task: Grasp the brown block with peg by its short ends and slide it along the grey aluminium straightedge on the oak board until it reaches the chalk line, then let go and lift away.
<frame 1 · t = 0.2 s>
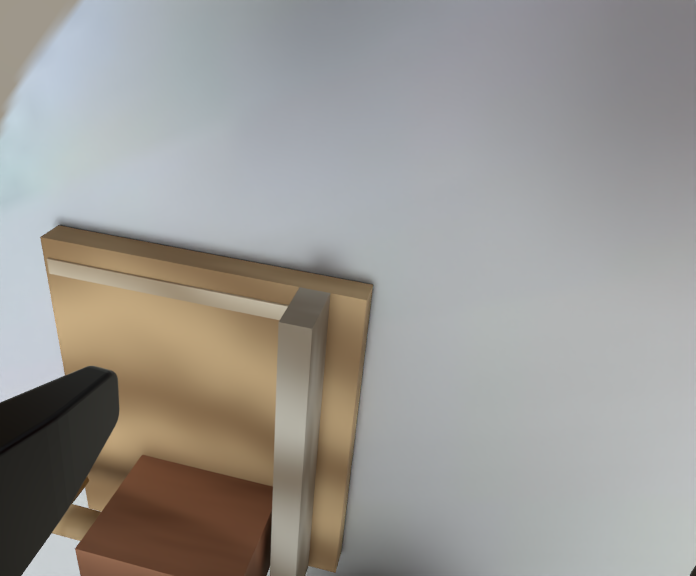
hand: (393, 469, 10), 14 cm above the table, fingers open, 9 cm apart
brown block with peg: (211, 500, 31), point 1 cm above the table, touching board
board: (214, 405, 30), on the table
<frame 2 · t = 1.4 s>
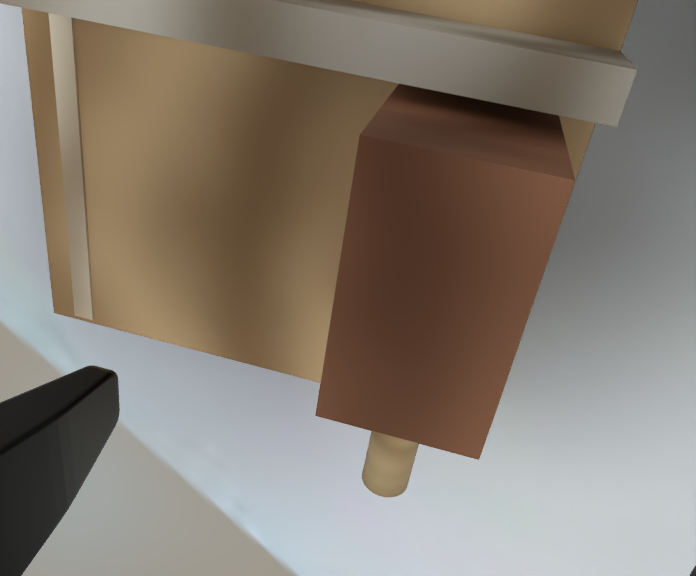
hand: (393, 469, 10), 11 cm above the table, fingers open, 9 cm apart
brown block with peg: (448, 217, 18), point 1 cm above the table, touching board
board: (292, 174, 20), on the table
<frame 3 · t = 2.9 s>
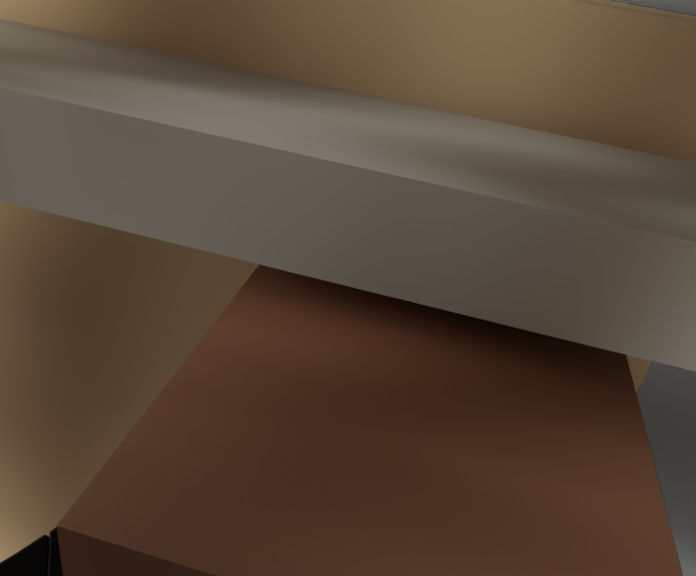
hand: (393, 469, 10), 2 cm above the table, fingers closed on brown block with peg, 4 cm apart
brown block with peg: (401, 433, 10), point 1 cm above the table, touching board, gripper
board: (147, 329, 12), on the table
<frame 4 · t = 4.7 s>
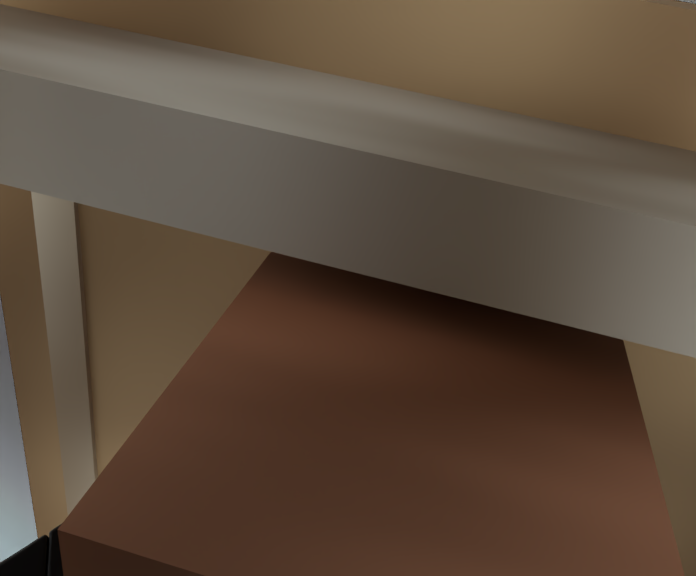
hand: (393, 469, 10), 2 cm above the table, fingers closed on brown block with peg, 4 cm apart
brown block with peg: (401, 434, 10), point 1 cm above the table, touching gripper
board: (460, 403, 11), on the table
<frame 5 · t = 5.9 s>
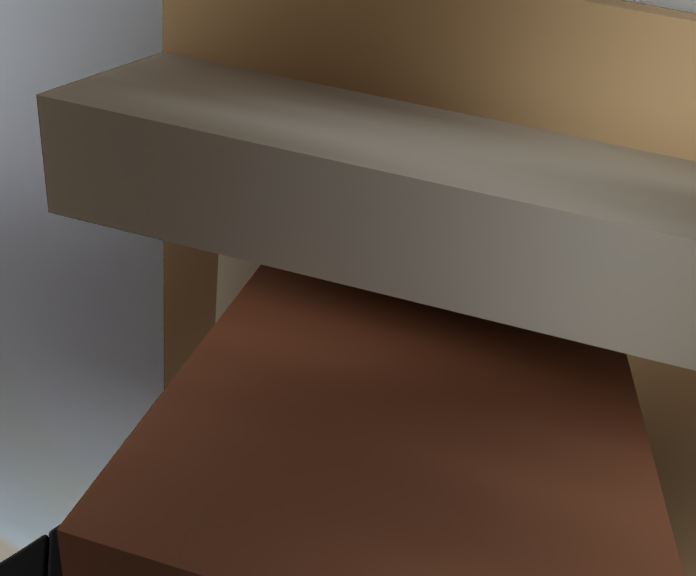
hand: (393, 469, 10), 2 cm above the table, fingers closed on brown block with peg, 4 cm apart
brown block with peg: (401, 435, 10), point 1 cm above the table, touching board, gripper
board: (636, 458, 11), on the table
when the fingers open (2 cm above the table, at t = 6.5 s): brown block with peg stays where it is, resting on board.
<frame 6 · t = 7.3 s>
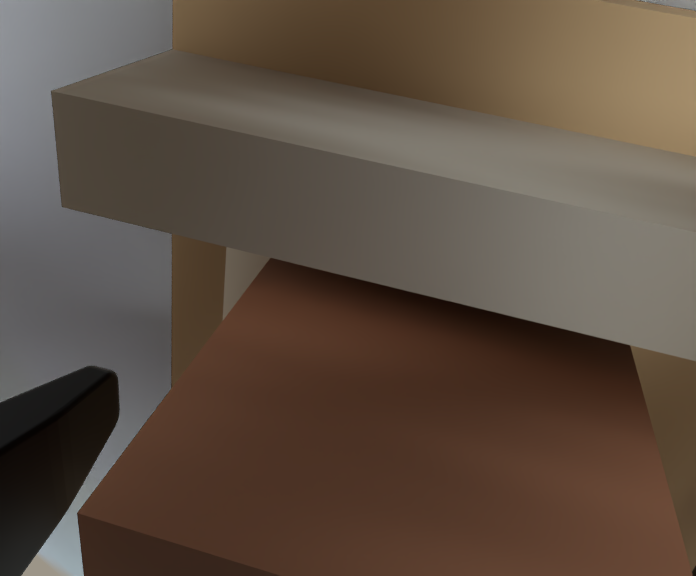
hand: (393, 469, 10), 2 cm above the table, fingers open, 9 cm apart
brown block with peg: (406, 429, 10), point 1 cm above the table, touching board
board: (639, 452, 11), on the table
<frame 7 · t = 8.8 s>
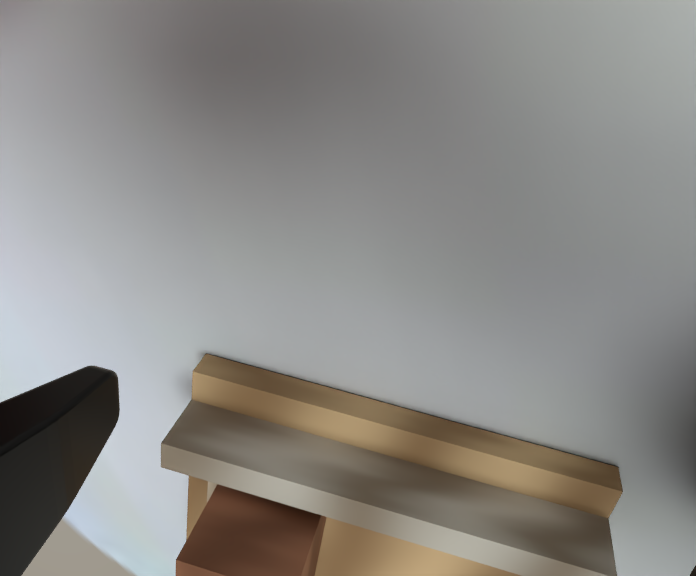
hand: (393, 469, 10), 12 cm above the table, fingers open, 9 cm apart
brown block with peg: (278, 517, 27), point 1 cm above the table, touching board
board: (373, 525, 28), on the table
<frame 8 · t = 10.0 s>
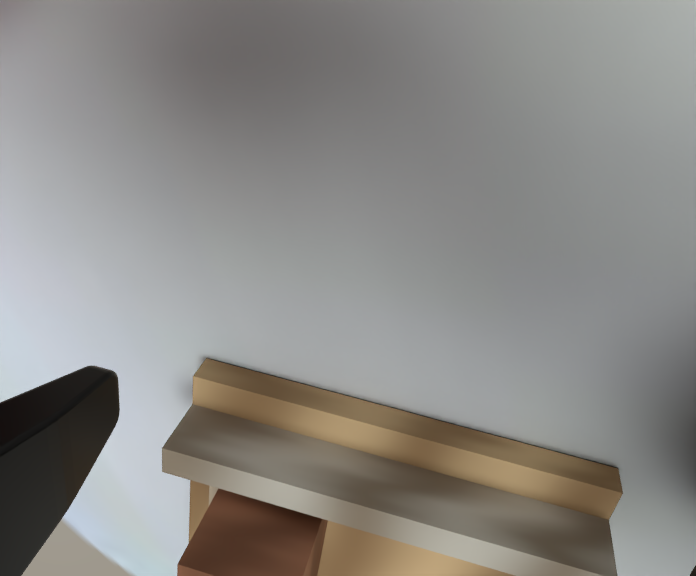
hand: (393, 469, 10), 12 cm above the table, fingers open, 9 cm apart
brown block with peg: (279, 520, 27), point 1 cm above the table, touching board
board: (374, 528, 28), on the table
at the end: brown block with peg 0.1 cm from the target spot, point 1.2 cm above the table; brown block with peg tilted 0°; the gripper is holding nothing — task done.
